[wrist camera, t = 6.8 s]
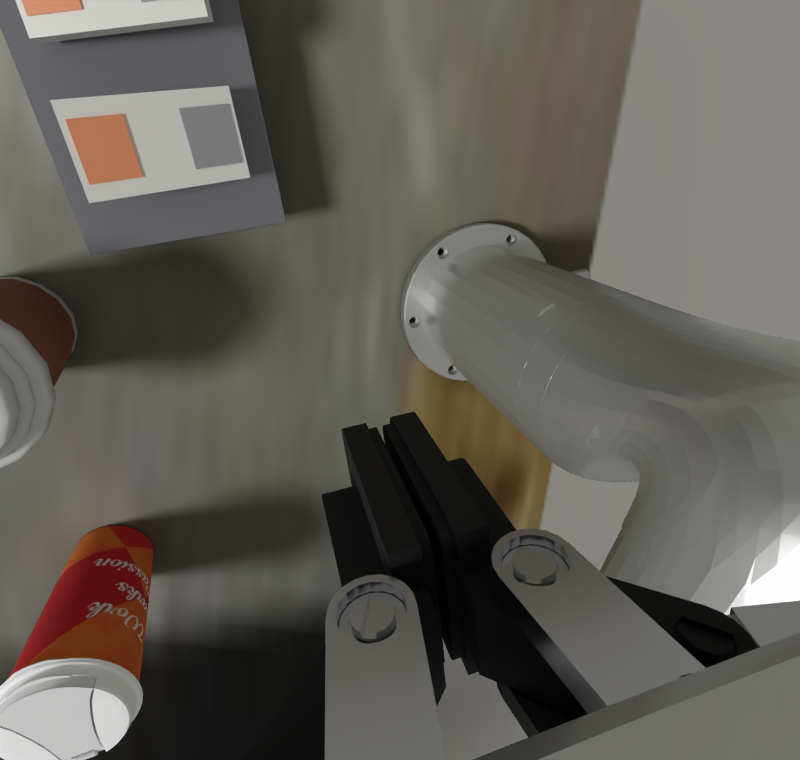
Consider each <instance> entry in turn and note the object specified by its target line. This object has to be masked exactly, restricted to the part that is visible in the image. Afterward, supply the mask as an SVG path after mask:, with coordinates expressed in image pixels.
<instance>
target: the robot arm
mask: <svg viewBox="0 0 800 760" xmlns="http://www.w3.org/2000/svg"><path fill="white" fill-rule="evenodd" d="M507 237H509V238H508V240H507V241H506V239H507ZM440 248H441V249H442V252H441V254H438V250H439V249H440ZM413 317H414V320H413V321H412V322H409V321H410V319H411V318H413ZM401 320H402V327H403V330H404V334H405V338H406V340H407V342H408V344H409V346H410V347H411V349H412V351H413V352H414V353H415V355H416V356H417V357H418V358H419V360H420V361H421V362H423V363H424V364H425V365H426V366H427V367H428V368H429V369H430V370H432V371H434V372H435V373H437V374H439V375H441V376H443V377H446V378H449V379H454V380H461V381H469V382H470V383H471V384H472V385H473V386H474V387H475V388H476V389H477V390H478V391H479V392H480V393H481V394H482V395H483V396H484V397H485V398H486V399H487V400H488V401H489V402H491V403H492V404H493V405H494V406H495V407H496V408H497V409H498V410H499V411H500V412H501V413H502V414H503V415H504V416H505V417H506V418H507V419H508V420H509V421H510V422H511V423H512V424H513V425H514V426H515V427H516V428H517V429H518V430H519V431H520V432H521V433H522V434H523V435H524V436H525V437H526V438H527V439H528V440H529V441H530V442H531V443H532V444H533V445H534V446H535V447H536V448H537V449H539V450H540V451H541V452H542V453H543V454H544V455H545V456H546V457H547V458H548V459H549V460H551V461H552V462H553V463H554V464H556V465H557V466H559V467H560V468H562V469H564V470H566V471H567V472H569V473H572V474H574V475H577V476H580V477H582V478H586V479H590V480H596V481H605V482H638V481H639V486H638V490H637V493H636V496H635V498H634V500H633V502H632V505H631V507H630V509H629V511H628V514H627V516H626V517H625V519H624V521H623V524H622V529H621V531H620V533H619V535H618V537H617V539H616V541H615V543H614V545H613V546H612V548H611V550H610V552H609V554H608V556H607V558H606V560H605V562H604V564H603V566H602V568H601V570H600V571H599V570H598V569H597V568H596V567H594V566H593V565H592V564H591V563H590V562H589V561H588V560H587V559H586V558H585V557H584V556H583V555H581V554H580V553H579V552H578V551H577V550H576V549H575V548H574V547H573V546H571V545H570V544H569V543H568V542H566V541H565V540H564V539H562V538H561V537H559V536H558V535H555V534H553V533H550V532H548V531H544V530H538V529H520V530H517V531H516V529H515V528H514V526H513V525H512V524H511V522H510V521H509V519H508V518H507V517H506V515H505V514H504V512H503V511H502V510H501V508H500V507H499V506H498V504H497V503H496V501H495V500H494V499H493V497H492V496H491V494H490V493H489V492H488V490H487V489H486V488H485V486H484V485H483V483H482V482H481V481H480V479H479V478H478V476H477V475H476V474H475V472H474V471H473V470H472V468H471V467H470V465H469V464H468V463H467V462H466V460H465V459H463V458H459V459H455V460H451V461H447V460H446V458H445V457H444V455H443V454H442V452H441V451H440V449H439V448H438V446H437V445H436V443H435V442H434V440H433V439H432V437H431V436H430V434H429V433H428V431H427V430H426V428H425V427H424V425H423V424H422V422H421V421H420V419H419V417H418V416H417V414H416V413H415V412H410V413H406V414H402V415H398V416H394V417H391V418H390V424H387V425H383V434H384V441H385V444H384V442H383V440H382V438H381V435H380V433H379V431H378V429H377V428H376V427H375V428H371V429H368V427H367V425H366V423H364V424H360V425H356V426H352V427H347V428H343V429H342V436H343V441H344V447H345V452H346V457H347V463H348V468H349V473H350V479H351V484H352V487H349V488H345V489H341V490H337V491H333V492H330V493H326V494H322V500H323V504H324V509H325V513H326V518H327V522H328V527H329V531H330V536H331V540H332V544H333V549H334V553H335V558H336V562H337V567H338V571H339V576H340V580H341V585H342V588H341V589H340V590H339V591H338V592H337V593H336V594H335V595H334V597H333V599H332V601H331V602H330V604H329V606H328V610H327V615H326V644H325V646H324V647H323V648H322V650H321V651H320V653H319V654H318V655H317V657H316V658H315V660H314V661H313V662H312V664H311V665H310V667H309V668H308V669H307V671H306V672H305V674H304V675H303V676H302V678H301V679H300V680H299V682H298V683H297V685H296V686H295V687H294V689H293V690H292V692H291V693H290V694H289V696H288V697H287V699H286V700H285V701H284V703H283V704H282V706H281V707H280V708H279V710H278V711H277V713H276V714H275V715H274V717H273V718H272V720H271V721H270V722H269V724H268V725H267V726H266V728H265V729H264V731H263V732H262V733H261V735H260V736H259V738H258V739H257V740H256V742H255V743H254V745H253V746H252V747H251V749H250V750H249V752H248V753H247V754H246V756H245V757H244V759H243V760H447V759H446V754H445V749H444V743H443V738H442V733H441V728H440V722H439V717H438V712H437V705H438V703H439V700H440V698H441V696H442V694H443V692H444V690H445V687H446V683H445V675H444V665H443V663H444V662H445V660H444V650H443V641H444V643H445V645H446V648H447V650H448V653H449V655H450V657H451V659H452V660H455V659H457V658H460V657H461V659H462V661H463V663H464V665H465V668H466V670H467V673H468V675H470V674H472V673H476V672H479V674H480V675H482V676H484V677H487V678H489V679H492V680H494V681H496V682H497V687H498V689H499V692H500V694H501V696H502V698H503V700H504V701H505V703H506V704H507V706H508V707H509V709H510V710H511V712H512V713H513V715H514V717H515V718H516V720H517V721H518V723H519V724H520V726H521V727H522V729H523V730H524V732H525V733H526V735H527V736H528V738H526V739H524V740H521V741H519V742H516V743H514V744H511V745H509V746H506V747H504V748H501V749H498V750H496V751H494V752H491V753H488V754H486V755H483V756H481V757H478V758H476V759H473V760H800V341H796V340H791V339H785V338H780V337H775V336H769V335H765V334H761V333H757V332H752V331H748V330H744V329H739V328H735V327H731V326H727V325H723V324H719V323H716V322H713V321H709V320H707V319H703V318H700V317H697V316H694V315H690V314H687V313H684V312H681V311H678V310H675V309H671V308H668V307H665V306H662V305H660V304H657V303H654V302H651V301H649V300H646V299H643V298H640V297H638V296H634V295H632V294H629V293H626V292H624V291H621V290H618V289H615V288H613V287H610V286H607V285H604V284H601V283H599V282H596V281H593V280H591V279H590V274H589V272H588V270H587V269H579V270H574V271H570V272H568V271H566V270H563V269H560V268H557V267H555V266H552V265H549V264H547V262H546V260H545V258H544V256H543V255H542V253H541V251H540V249H539V248H538V247H537V246H536V245H535V244H534V243H533V241H532V240H531V239H530V238H528V237H527V236H525V235H524V234H522V233H521V232H520V231H518V230H515V229H512V228H510V227H507V226H504V225H500V224H496V223H474V224H469V225H464V226H461V227H459V228H456V229H454V230H451V231H449V232H448V233H446V234H445V235H443V236H442V237H440V238H438V239H437V240H436V241H435V242H433V243H432V244H431V245H430V246H429V247H428V248H427V249H426V250H425V251H424V252H423V254H422V255H421V256H420V258H419V259H418V260H417V262H416V263H415V264H414V266H413V268H412V270H411V272H410V274H409V276H408V278H407V281H406V284H405V287H404V291H403V294H402V303H401ZM450 366H451V367H450ZM449 367H450V368H449ZM442 638H443V641H442Z"/></svg>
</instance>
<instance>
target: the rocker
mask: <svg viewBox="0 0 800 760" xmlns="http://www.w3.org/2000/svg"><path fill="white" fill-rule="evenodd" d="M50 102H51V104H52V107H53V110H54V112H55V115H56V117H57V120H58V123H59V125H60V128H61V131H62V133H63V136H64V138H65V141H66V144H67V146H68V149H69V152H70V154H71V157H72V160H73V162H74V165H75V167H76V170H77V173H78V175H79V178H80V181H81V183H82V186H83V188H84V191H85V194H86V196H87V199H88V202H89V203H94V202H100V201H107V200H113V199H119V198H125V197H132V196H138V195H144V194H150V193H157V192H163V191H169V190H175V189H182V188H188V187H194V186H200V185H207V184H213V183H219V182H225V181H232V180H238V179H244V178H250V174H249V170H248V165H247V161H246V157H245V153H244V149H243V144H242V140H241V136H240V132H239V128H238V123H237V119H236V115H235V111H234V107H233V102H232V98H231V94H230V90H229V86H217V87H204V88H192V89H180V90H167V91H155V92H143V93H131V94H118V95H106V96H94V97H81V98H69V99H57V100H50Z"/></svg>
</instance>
